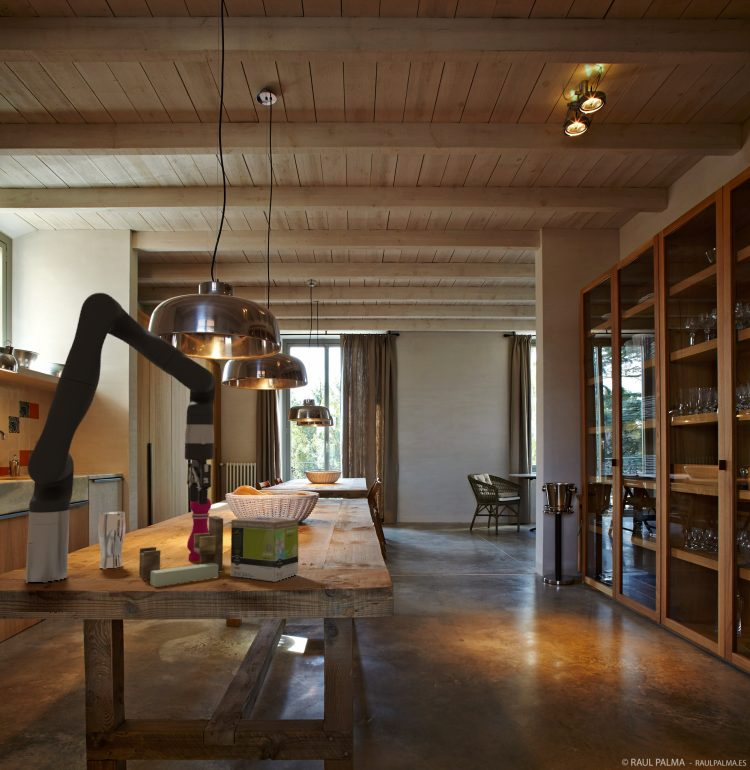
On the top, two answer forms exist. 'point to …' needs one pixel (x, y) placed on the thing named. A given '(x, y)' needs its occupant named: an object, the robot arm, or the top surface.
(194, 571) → the rail
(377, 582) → the top surface
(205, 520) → the pepper mill
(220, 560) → the cup bracket
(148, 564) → the block
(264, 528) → the tea box
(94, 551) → the top surface
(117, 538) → the beer glass
